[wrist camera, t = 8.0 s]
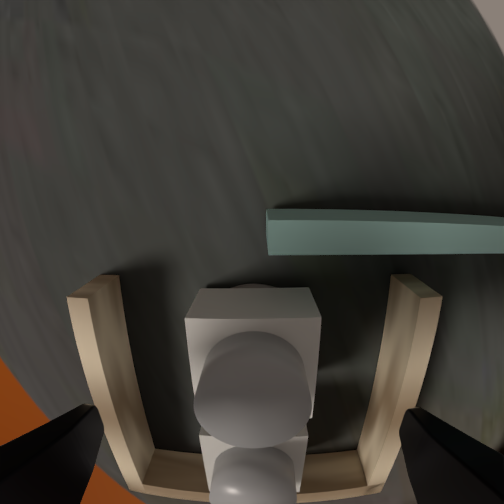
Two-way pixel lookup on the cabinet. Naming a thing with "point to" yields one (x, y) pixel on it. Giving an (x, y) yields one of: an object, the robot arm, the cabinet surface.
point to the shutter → (380, 232)
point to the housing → (191, 464)
